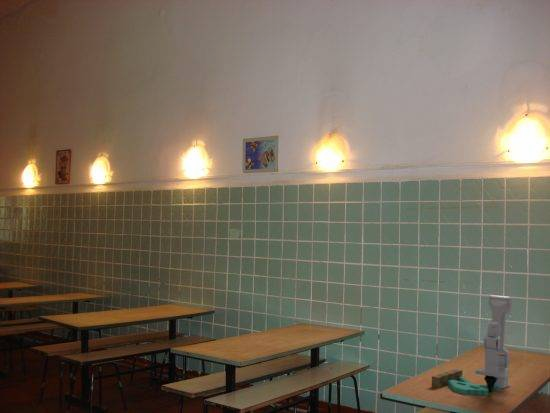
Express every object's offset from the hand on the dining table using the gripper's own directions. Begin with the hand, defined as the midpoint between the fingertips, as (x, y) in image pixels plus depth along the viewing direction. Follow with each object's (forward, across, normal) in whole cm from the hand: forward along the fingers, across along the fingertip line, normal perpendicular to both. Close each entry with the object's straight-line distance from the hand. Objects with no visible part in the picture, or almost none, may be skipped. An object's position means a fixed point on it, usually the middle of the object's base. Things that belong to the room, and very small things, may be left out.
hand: (490, 392), depth 256 cm
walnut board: (+1, -22, 0) cm, 22 cm away
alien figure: (+1, -10, +1) cm, 11 cm away
